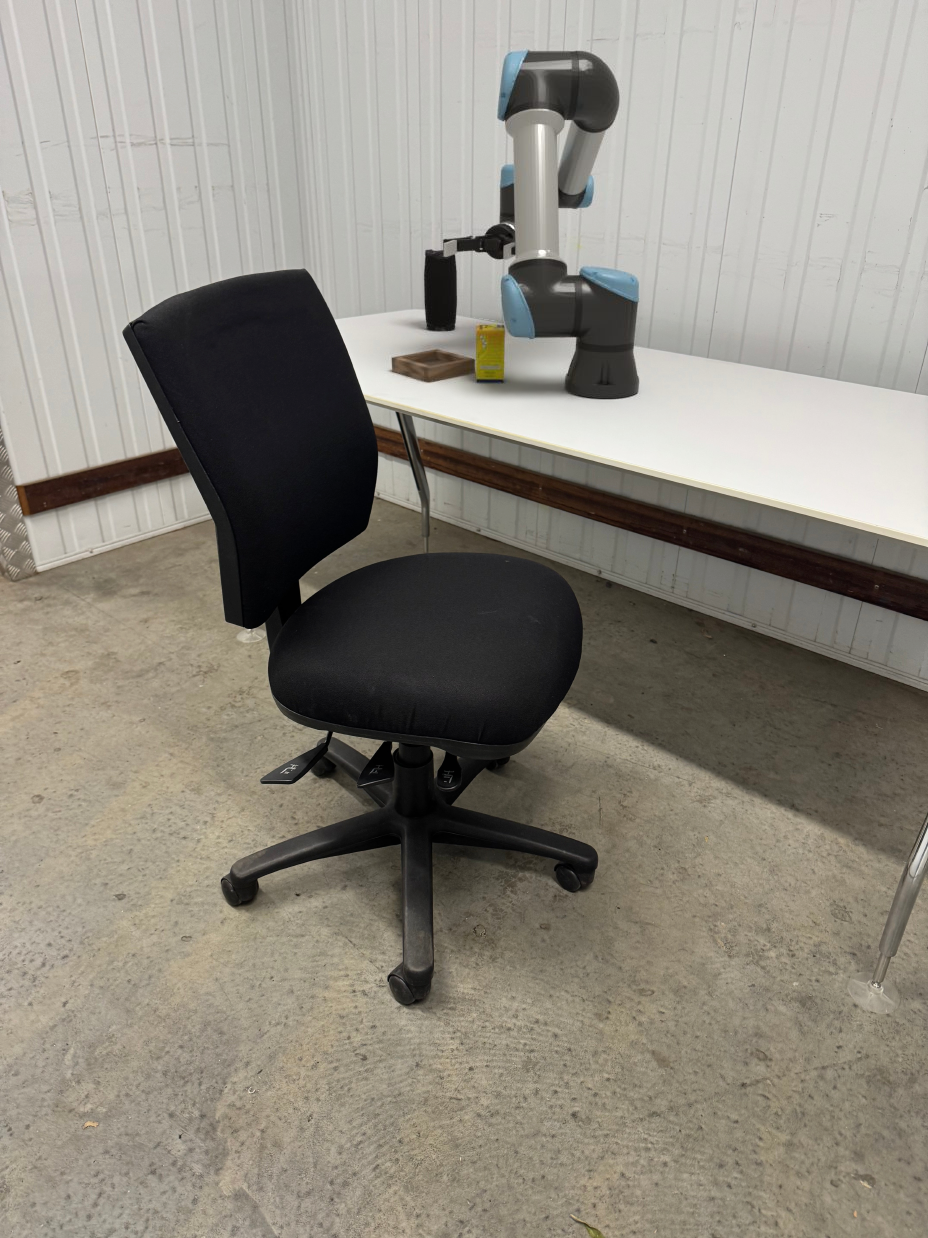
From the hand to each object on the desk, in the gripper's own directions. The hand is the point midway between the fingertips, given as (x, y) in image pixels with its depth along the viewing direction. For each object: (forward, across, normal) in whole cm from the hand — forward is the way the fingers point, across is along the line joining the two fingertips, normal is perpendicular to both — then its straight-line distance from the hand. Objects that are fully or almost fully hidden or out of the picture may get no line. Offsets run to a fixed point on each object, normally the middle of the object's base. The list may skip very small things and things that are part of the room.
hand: (474, 251), depth 192 cm
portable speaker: (-35, +21, -24) cm, 48 cm away
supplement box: (+13, -8, -24) cm, 28 cm away
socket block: (+11, +6, -24) cm, 27 cm away
